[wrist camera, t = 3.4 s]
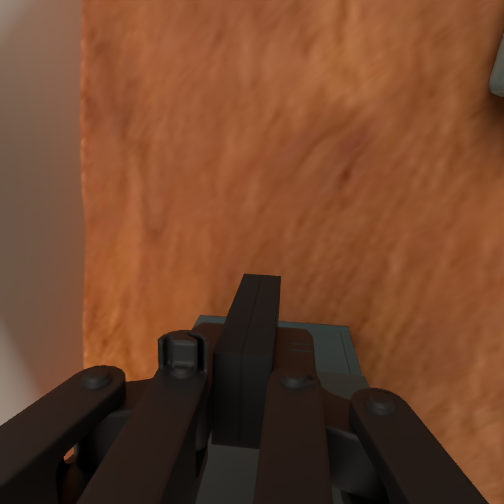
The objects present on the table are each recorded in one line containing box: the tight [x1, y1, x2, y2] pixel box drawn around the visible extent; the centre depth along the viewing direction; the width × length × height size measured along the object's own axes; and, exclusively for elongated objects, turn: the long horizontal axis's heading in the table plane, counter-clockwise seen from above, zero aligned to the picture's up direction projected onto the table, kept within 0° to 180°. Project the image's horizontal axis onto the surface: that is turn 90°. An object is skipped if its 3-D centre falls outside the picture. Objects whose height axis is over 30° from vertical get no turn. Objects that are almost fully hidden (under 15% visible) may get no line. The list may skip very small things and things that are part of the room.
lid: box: [195, 371, 370, 504], centre depth 19 cm, size 14×13×1 cm
